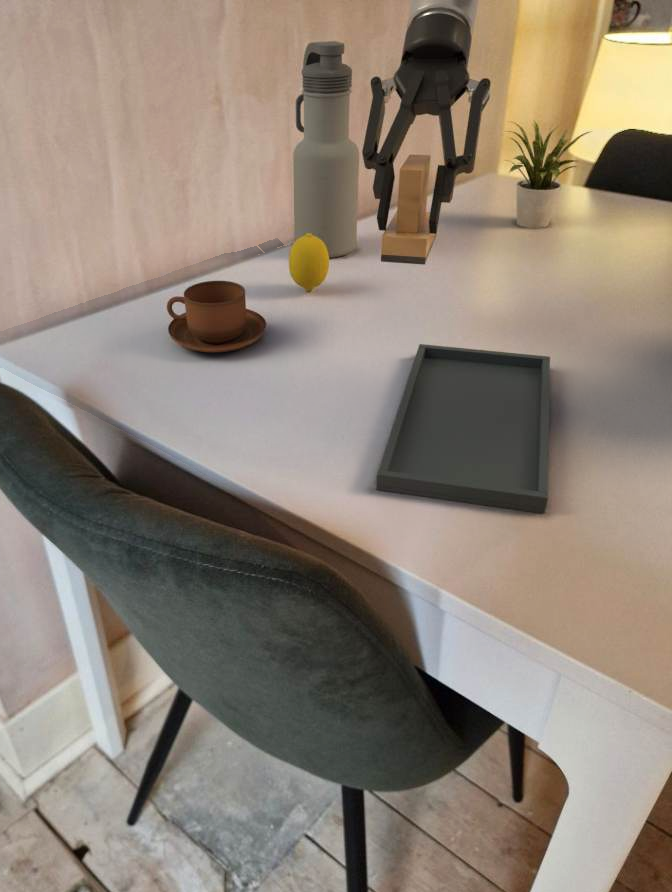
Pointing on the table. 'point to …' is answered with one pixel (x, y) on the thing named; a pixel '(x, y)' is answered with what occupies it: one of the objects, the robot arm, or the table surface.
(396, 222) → the wooden block on base
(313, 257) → the lemon
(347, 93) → the water bottle
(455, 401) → the tray
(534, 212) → the house plant
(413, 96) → the robot arm
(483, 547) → the table surface
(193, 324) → the cup and saucer
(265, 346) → the table surface
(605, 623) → the table surface
